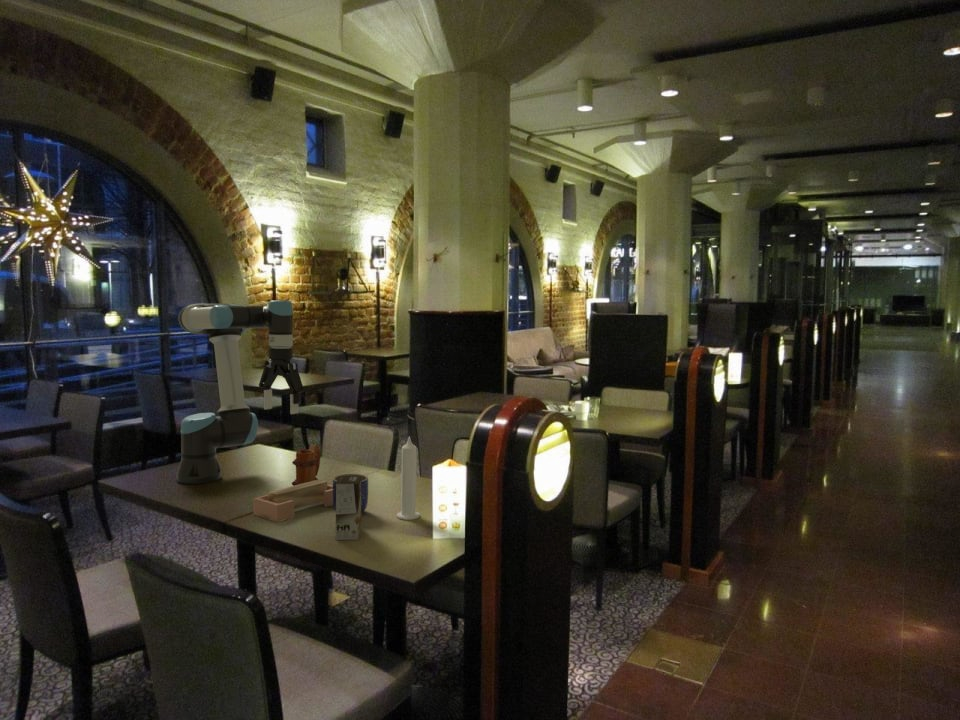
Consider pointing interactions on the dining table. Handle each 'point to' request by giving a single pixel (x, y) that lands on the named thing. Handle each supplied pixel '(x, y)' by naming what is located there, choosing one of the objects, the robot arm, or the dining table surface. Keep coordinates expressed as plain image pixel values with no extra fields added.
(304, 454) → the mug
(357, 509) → the coffee box
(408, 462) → the candle
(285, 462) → the dining table surface
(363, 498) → the planter
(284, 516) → the endcap rail
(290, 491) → the tan wooden beam
